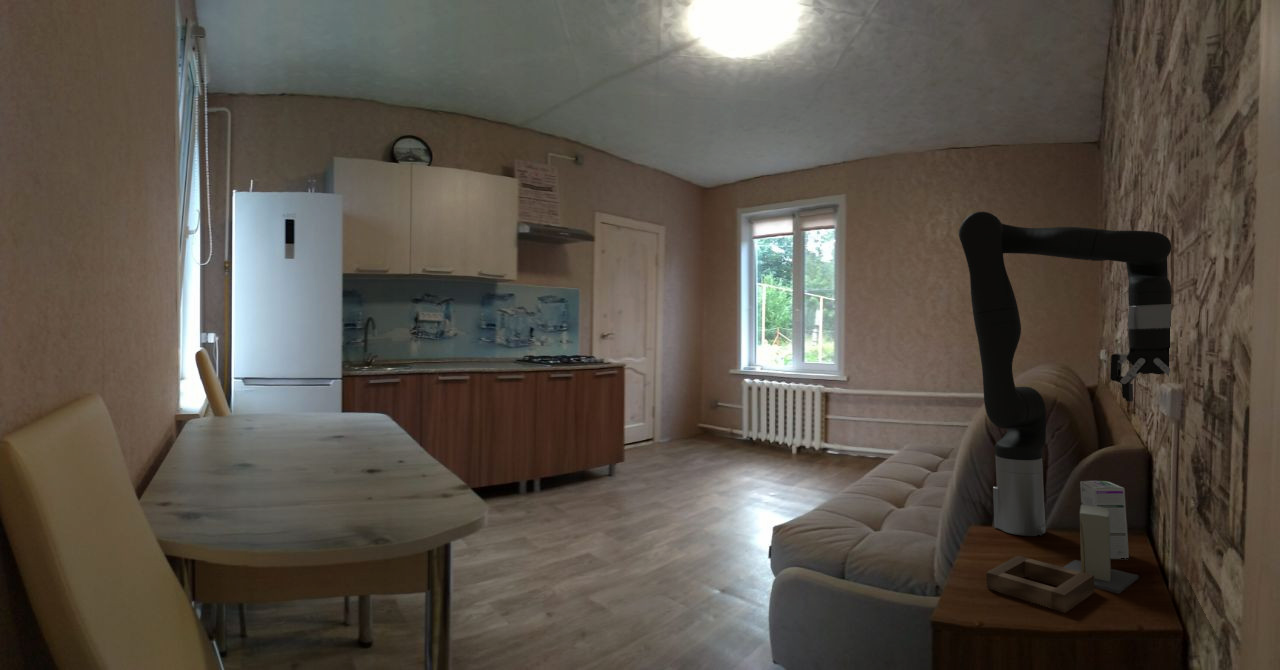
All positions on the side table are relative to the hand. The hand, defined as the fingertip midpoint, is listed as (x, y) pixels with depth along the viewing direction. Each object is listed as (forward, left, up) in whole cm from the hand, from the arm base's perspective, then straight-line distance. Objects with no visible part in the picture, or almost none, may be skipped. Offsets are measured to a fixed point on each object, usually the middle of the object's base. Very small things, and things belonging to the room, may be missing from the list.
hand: (1154, 402), depth 126 cm
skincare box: (-2, -29, -30) cm, 42 cm away
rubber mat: (-2, -30, -30) cm, 42 cm away
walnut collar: (-6, -43, -30) cm, 53 cm away
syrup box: (-5, -15, -30) cm, 34 cm away
